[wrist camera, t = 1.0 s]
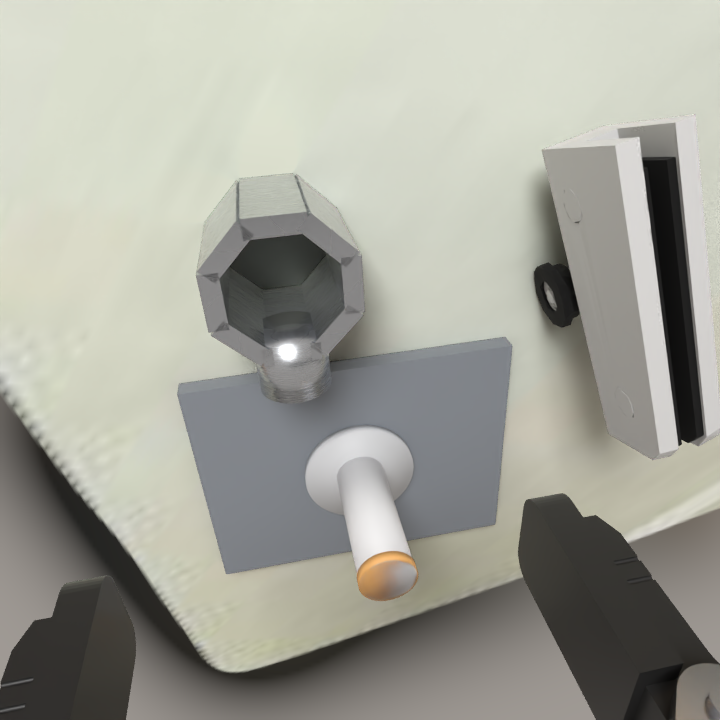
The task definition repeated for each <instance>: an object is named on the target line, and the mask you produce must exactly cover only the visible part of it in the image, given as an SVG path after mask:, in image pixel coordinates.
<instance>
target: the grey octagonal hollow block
mask: <svg viewBox="0 0 720 720" xmlns="http://www.w3.org/2000/svg"><path fill="white" fill-rule="evenodd" d="M298 234H303V235H304V236H306V237H307V238H308V239H310V240H311V241H312V242H313V243H315V244H316V245H317V246H319V247H320V248H321V249H322V250H324V251H325V257H324V258H323V259H322V261H321V262H320V263H319V264H318V265H317V266H316V268H315V269H314V270H313V271H312V272H311V274H310V275H309V276H308V277H307V278H306V279H305V281H304V282H303V283H302V284H301V285H295V286H287V287H279V288H271V289H263V290H262V289H261V288H259V287H258V286H257V285H255V284H254V283H252V282H251V281H249V280H248V279H246V278H245V277H243V276H242V275H240V274H239V273H238V272H236V271H235V270H233V269H232V268H230V265H231V264H232V262H233V261H234V260H235V258H236V257H237V256H238V255H239V253H240V252H241V251H242V250H243V248H244V247H245V246H246V245H247V243H248V242H249V241H250V240H254V239H263V238H272V237H281V236H289V235H298ZM196 278H197V282H198V287H199V291H200V296H201V300H202V305H203V309H204V314H205V318H206V323H207V327H208V332H209V333H210V332H211V336H212V337H214V338H215V339H217V340H219V341H220V342H222V343H224V344H225V345H227V346H229V347H230V348H232V349H234V350H235V351H237V352H238V353H240V354H242V355H243V356H245V357H247V358H248V359H250V360H252V361H253V362H255V363H256V366H257V371H258V377H259V382H260V388H261V392H262V393H263V395H264V396H265V397H266V398H268V399H270V400H272V401H275V402H279V403H287V404H292V403H301V402H306V401H309V400H312V399H314V398H317V397H319V396H320V395H322V394H323V393H324V392H326V391H327V389H328V388H329V387H330V385H331V370H330V360H329V353H330V352H331V351H332V350H333V348H334V347H335V346H336V345H337V344H338V343H339V342H340V341H341V340H342V339H343V337H344V336H345V335H346V334H347V333H348V332H349V331H350V330H351V329H352V327H353V326H354V325H355V324H356V323H357V322H358V321H359V320H360V319H361V318H362V316H363V313H362V312H365V305H364V288H363V270H362V255H361V253H360V251H359V249H358V247H357V246H356V244H355V242H354V240H353V238H352V236H351V234H350V232H349V230H348V228H347V226H346V224H345V222H344V220H343V219H342V217H341V215H340V213H339V211H338V209H337V207H335V206H334V205H333V204H332V203H331V202H329V201H328V200H327V199H326V198H325V197H323V196H322V195H321V194H320V193H319V192H317V191H316V190H315V189H314V188H313V187H311V186H310V185H309V184H308V183H307V182H305V181H304V180H303V179H302V178H300V177H299V176H298V175H297V174H296V176H295V177H294V174H293V173H290V174H280V175H271V176H261V177H251V178H241V179H239V182H238V181H235V183H234V184H233V185H232V187H231V188H230V189H229V191H228V192H227V193H226V195H225V196H224V197H223V199H222V200H221V201H220V202H219V204H218V205H217V206H216V208H215V209H214V210H213V212H212V213H211V214H210V216H209V217H208V218H207V220H206V221H205V224H204V229H203V235H202V241H201V247H200V254H199V260H198V266H197V272H196Z"/></svg>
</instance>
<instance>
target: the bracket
mask: <svg viewBox="0 0 720 720" xmlns="http://www.w3.org/2000/svg"><path fill="white" fill-rule="evenodd" d="M542 153H543V157H544V162H545V166H546V170H547V174H548V179H549V183H550V187H551V191H552V196H553V200H554V204H555V209H556V213H557V217H558V221H559V226H560V230H561V234H562V238H563V243H564V247H565V251H566V255H567V260H568V264H569V268H570V270H569V269H568V267H567V266H564V265H562V264H557V265H553V266H552V265H551V264H550V263H546V264H543V265H540V266H538V267H537V268H536V270H535V271H534V275H535V284H536V292H537V295H538V298H539V300H540V303H541V305H542V308H543V310H544V312H545V313H546V314H547V316H548V317H549V319H550V320H551V321H552V323H553V324H555V325H557V326H560V327H565V326H569V325H571V322H572V318H574V317H577V316H578V315H579V314H580V315H581V319H582V324H583V328H584V332H585V336H586V341H587V345H588V349H589V353H590V358H591V362H592V366H593V371H594V375H595V379H596V383H597V388H598V392H599V396H600V400H601V405H602V409H603V413H604V417H605V422H606V426H607V430H608V434H610V435H611V436H613V437H615V438H616V439H618V440H620V441H622V442H623V443H625V444H627V445H628V446H630V447H632V448H633V449H635V450H637V451H638V452H640V453H642V454H643V455H645V456H647V457H648V458H650V459H652V460H655V459H660V458H664V457H669V456H671V455H672V454H673V453H675V452H676V451H677V450H678V449H679V447H678V446H680V445H681V444H682V442H681V440H683V441H685V442H687V443H690V442H691V443H693V444H695V445H697V446H700V445H702V444H703V443H705V442H707V441H709V440H711V439H713V438H714V437H716V436H718V435H719V433H720V397H719V385H718V373H717V361H716V349H715V337H714V326H713V314H712V302H711V290H710V278H709V266H708V255H707V243H706V231H705V219H704V207H703V195H702V183H701V172H700V160H699V148H698V136H697V124H696V114H692V115H684V116H675V117H667V118H659V119H651V120H643V121H635V122H627V123H619V124H611V125H603V126H601V127H598V128H596V129H593V130H591V131H588V132H586V133H583V134H581V135H578V136H575V137H573V138H570V139H568V140H565V141H563V142H560V143H557V144H555V145H552V146H550V147H547V148H544V149H542Z"/></svg>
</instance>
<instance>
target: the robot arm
mask: <svg viewBox="0 0 720 720" xmlns="http://www.w3.org/2000/svg"><path fill="white" fill-rule="evenodd" d="M518 557H519V563H520V568H521V571H522V574H523V577H524V580H525V581H526V584H527V586H528V587H529V590H530V591H531V593H532V595H533V597H534V599H535V601H536V603H537V605H538V607H539V609H540V611H541V613H542V615H543V617H544V618H545V621H546V623H547V625H548V627H549V628H550V631H551V632H552V635H553V636H554V638H555V640H556V642H557V644H558V646H559V648H560V650H561V652H562V654H563V656H564V658H565V660H566V662H567V664H568V666H569V668H570V670H571V671H572V674H573V675H574V677H575V679H576V681H577V683H578V685H579V687H580V689H581V691H582V693H583V695H584V697H585V699H586V701H587V702H588V705H589V707H590V708H591V711H592V713H593V715H594V716H595V718H596V720H720V664H719V663H718V662H717V661H716V660H715V659H714V658H713V657H712V655H711V654H710V653H709V652H708V650H707V649H706V648H705V647H704V645H703V644H702V642H701V641H700V640H699V638H698V637H697V636H696V634H695V633H694V632H693V630H692V629H691V628H690V626H689V625H688V623H687V622H686V621H685V620H684V618H683V617H682V615H681V614H680V613H679V611H678V610H677V609H676V607H675V606H674V605H673V603H672V602H671V601H670V599H669V598H668V597H667V595H666V594H665V593H664V591H663V590H662V589H661V587H660V586H659V585H658V583H657V582H656V580H653V579H652V577H651V574H650V572H649V571H648V570H647V568H646V567H645V566H644V564H643V563H642V562H641V561H639V560H638V558H637V555H636V554H635V552H634V551H633V550H632V548H631V547H630V546H629V544H628V543H627V541H626V540H625V539H624V537H623V536H622V535H621V533H619V532H618V531H617V530H615V529H614V528H613V527H611V526H610V525H609V524H607V523H606V522H604V521H603V520H602V519H600V518H599V517H598V516H596V515H594V516H589V517H583V516H582V515H581V514H580V512H579V511H578V509H577V508H576V506H575V505H574V503H573V502H572V501H571V499H570V498H569V497H568V496H567V495H565V494H563V493H561V494H555V495H550V496H544V497H539V498H533V499H528V500H526V502H525V504H524V509H523V517H522V524H521V532H520V540H519V547H518ZM135 656H136V641H135V632H134V627H133V624H132V621H131V619H130V617H129V615H128V612H127V610H126V607H125V605H124V603H123V601H122V598H121V596H120V594H119V591H118V589H117V587H116V584H115V582H114V580H113V578H112V577H111V576H109V575H107V576H102V577H97V578H91V579H86V580H80V581H75V582H70V583H66V584H65V585H64V586H63V587H62V589H61V590H60V593H59V596H58V599H57V602H56V606H55V609H54V612H53V616H52V617H51V618H46V619H41V620H35V621H34V622H33V623H32V625H31V626H30V627H29V628H28V630H27V631H26V632H25V634H24V635H23V636H22V638H21V639H20V641H19V642H18V643H17V645H16V646H15V647H14V649H13V650H12V652H11V655H10V658H9V661H8V663H7V666H6V669H5V672H4V675H3V678H2V680H1V688H0V720H126V715H127V708H128V702H129V695H130V689H131V683H132V676H133V670H134V664H135Z"/></svg>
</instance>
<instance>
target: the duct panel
mask: <svg viewBox="0 0 720 720" xmlns="http://www.w3.org/2000/svg"><path fill="white" fill-rule="evenodd" d="M511 355H512V344H511V343H510V342H509V341H508V340H507V338H506V337H501V338H494V339H487V340H480V341H473V342H466V343H460V344H453V345H446V346H439V347H432V348H425V349H418V350H411V351H404V352H397V353H390V354H383V355H376V356H369V357H362V358H355V359H348V360H341V361H334V362H330V370H331V385H330V387H329V388H328V389H327V391H326V392H324V393H323V394H322V395H320V396H319V397H317V398H314V399H312V400H309V401H306V402H301V403H292V404H287V403H279V402H275V401H272V400H270V399H268V398H266V397H265V396H264V395H263V393H262V392H261V388H260V382H259V377H258V373H251V374H244V375H237V376H230V377H223V378H216V379H209V380H202V381H195V382H188V383H181V384H179V387H178V393H177V395H178V399H179V403H180V406H181V410H182V414H183V417H184V421H185V425H186V428H187V432H188V436H189V439H190V443H191V447H192V451H193V454H194V458H195V462H196V465H197V469H198V473H199V476H200V480H201V484H202V487H203V491H204V495H205V498H206V502H207V506H208V509H209V513H210V517H211V520H212V524H213V528H214V531H215V535H216V539H217V542H218V546H219V550H220V553H221V557H222V561H223V564H224V568H225V572H226V574H231V573H237V572H242V571H247V570H253V569H258V568H264V567H269V566H274V565H280V564H285V563H290V562H296V561H301V560H307V559H312V558H317V557H323V556H328V555H333V554H339V553H344V552H349V551H352V553H353V558H354V562H355V567H356V572H357V581H358V586H359V590H360V592H361V593H362V594H363V595H364V596H365V597H367V598H369V599H371V600H377V601H386V600H391V599H395V598H398V597H400V596H402V595H404V594H406V593H407V592H408V591H410V590H411V589H412V588H413V587H414V585H415V584H416V582H417V579H418V571H417V568H416V565H415V562H414V560H413V558H412V556H411V553H410V550H409V546H408V543H407V541H409V540H414V539H419V538H425V537H430V536H435V535H441V534H446V533H452V532H457V531H462V530H468V529H473V528H478V527H484V526H489V525H494V524H495V522H496V512H497V501H498V491H499V480H500V470H501V459H502V449H503V439H504V428H505V418H506V407H507V397H508V386H509V376H510V365H511Z"/></svg>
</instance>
